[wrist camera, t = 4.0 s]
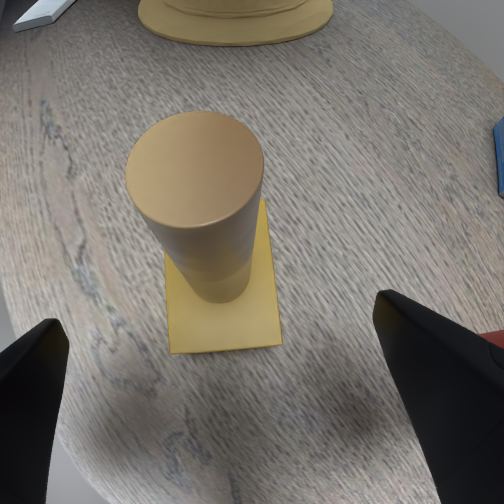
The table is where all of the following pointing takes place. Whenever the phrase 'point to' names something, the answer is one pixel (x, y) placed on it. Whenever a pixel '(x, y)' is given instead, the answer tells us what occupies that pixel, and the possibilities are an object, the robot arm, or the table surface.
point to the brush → (208, 230)
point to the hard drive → (42, 14)
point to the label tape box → (500, 153)
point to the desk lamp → (234, 20)
